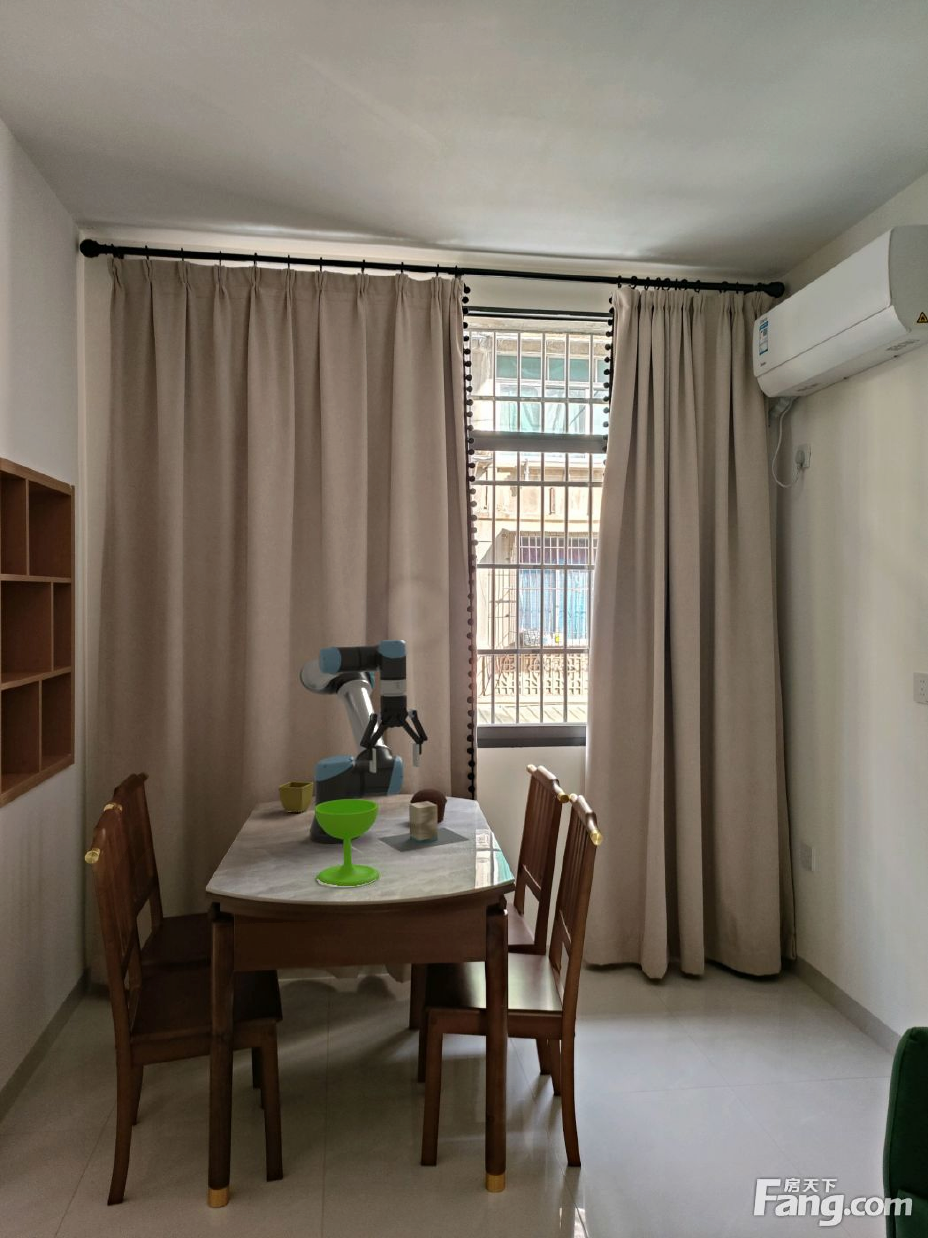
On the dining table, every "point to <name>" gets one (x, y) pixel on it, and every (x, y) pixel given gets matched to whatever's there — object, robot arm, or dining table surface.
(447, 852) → the dining table surface
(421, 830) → the maple block
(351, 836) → the wineglass
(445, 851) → the dining table surface
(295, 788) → the flower pot
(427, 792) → the muffin
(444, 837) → the slate mat
